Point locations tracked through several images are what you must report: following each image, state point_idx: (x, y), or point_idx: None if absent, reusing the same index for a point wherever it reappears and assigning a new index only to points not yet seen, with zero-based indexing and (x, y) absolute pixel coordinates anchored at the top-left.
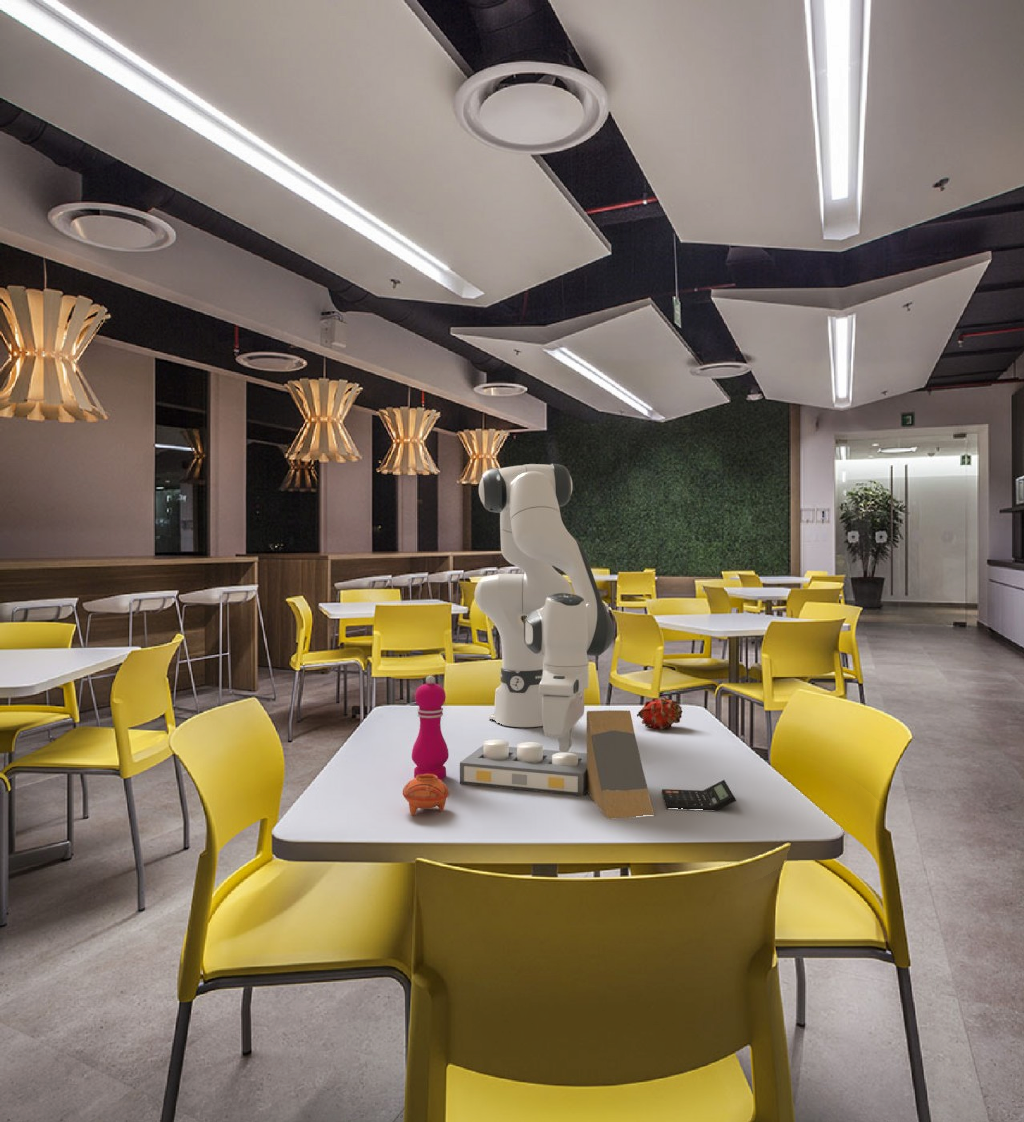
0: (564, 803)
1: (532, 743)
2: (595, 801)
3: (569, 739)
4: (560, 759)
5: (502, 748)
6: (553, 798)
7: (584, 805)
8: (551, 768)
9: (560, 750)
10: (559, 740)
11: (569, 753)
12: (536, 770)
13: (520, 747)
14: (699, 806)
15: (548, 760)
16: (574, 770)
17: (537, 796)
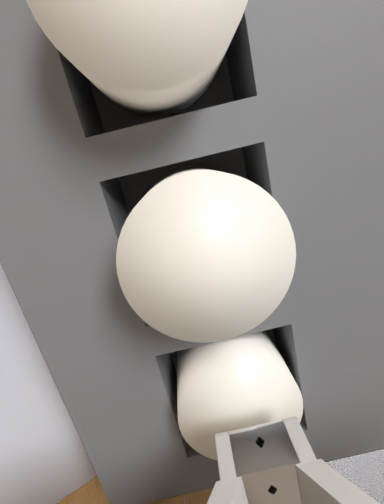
0: (31, 425)
1: (263, 252)
2: (89, 485)
3: (300, 500)
4: (178, 420)
5: (95, 81)
6: (49, 384)
7: (54, 468)
8: (100, 400)
9: (215, 436)
10: (211, 498)
11: (293, 410)
12: (47, 355)
13: (120, 235)
14: None
15: None
16: (131, 474)
17: (32, 338)
